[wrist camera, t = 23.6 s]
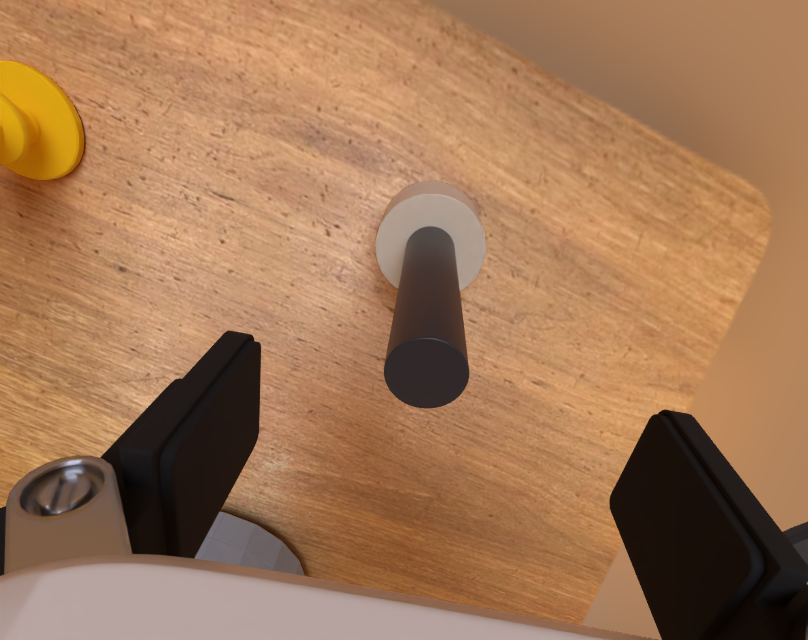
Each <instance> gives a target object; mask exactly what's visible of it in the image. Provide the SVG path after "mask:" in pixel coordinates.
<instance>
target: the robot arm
mask: <svg viewBox="0 0 808 640" xmlns="http://www.w3.org/2000/svg"><path fill="white" fill-rule="evenodd" d="M260 369H261V345H260V343H259V342H255V341H254V337H253V336H252V335H251V334H245V333H240V332H234V331H226V332H225V333H224V334H223V335H222V336H221V337H220V338H219V339H218V341H217V342H216V343H215V344H214V345H213V346H212V347H211V348H210V349H209V350H208V351H207V353H206V354H205V355H204V356H203V357H202V358H201V359H200V360H199V361H198V362H197V363H196V365H195V366H194V367H193V368H192V369H191V370H190V371H189V372H188V373H187V374H186V375H185V376H184V378H183V379H180V378H179V379H175V380H174V381H173V382H172V383H171V384H170V385H169V386H168V387H167V388H166V389H165V390H164V391H163V392H162V393H161V394H160V395H159V396H158V397H157V398H156V399H155V400H154V401H153V403H152V404H151V405H150V406H149V407H148V408H147V409H146V410H145V411H144V412H143V413H142V414H141V415H140V416H139V417H138V418H137V419H136V421H135V422H134V423H133V424H132V425H131V426H130V427H129V428H128V429H127V430H126V431H125V432H124V433H123V434H122V435H121V436H120V437H119V438H118V440H117V441H116V442H115V443H114V444H113V445H112V446H111V447H110V448H109V449H108V450H107V451H106V452H105V453H104V454H103V455H102V456H101V458H98V457H94V456H71V457H65V458H60V459H57V460H55V461H52V462H49V463H46V464H44V465H42V466H40V467H38V468H36V469H34V470H33V471H31V472H29V473H28V474H27V475H26V476H24V477H23V478H22V479H21V480H19V481H18V482H17V484H16V485H15V486H14V488H13V489H12V490H11V491H10V493H9V496H8V500H7V503H6V506H5V507H2V508H0V640H657V639H651V638H646V637H641V636H635V635H630V634H624V633H619V632H614V631H609V630H603V629H598V628H592V627H587V626H582V625H576V624H571V623H566V622H560V621H555V620H549V619H544V618H538V617H533V616H527V615H522V614H516V613H511V612H505V611H500V610H494V609H489V608H483V607H477V606H472V605H466V604H461V603H455V602H450V601H444V600H439V599H433V598H427V597H422V596H416V595H411V594H405V593H399V592H394V591H388V590H382V589H376V588H371V587H365V586H359V585H354V584H348V583H342V582H336V581H331V580H325V579H319V578H314V577H308V576H302V575H296V574H291V573H285V572H279V571H272V570H266V569H259V568H253V567H247V566H240V565H234V564H228V563H221V562H215V561H209V560H202V559H194V558H195V556H196V554H197V553H198V551H199V549H200V547H201V545H202V543H203V541H204V540H205V538H206V536H207V534H208V532H209V530H210V528H211V527H212V525H213V523H214V521H215V519H216V517H217V515H218V514H219V512H220V510H221V508H222V506H223V504H224V502H225V501H226V499H227V497H228V495H229V493H230V491H231V490H232V488H233V486H234V484H235V482H236V480H237V478H238V477H239V475H240V473H241V471H242V469H243V467H244V465H245V464H246V462H247V460H248V458H249V456H250V454H251V452H252V451H253V449H254V447H255V445H256V442H257V439H258V434H259V413H260ZM610 509H611V513H612V515H613V518H614V520H615V523H616V525H617V528H618V530H619V533H620V535H621V538H622V540H623V543H624V545H625V548H626V550H627V553H628V555H629V558H630V560H631V563H632V565H633V567H634V570H635V573H636V575H637V578H638V580H639V583H640V585H641V588H642V590H643V593H644V595H645V598H646V600H647V603H648V605H649V608H650V611H651V613H652V616H653V618H654V621H655V623H656V626H657V628H658V631H659V633H660V636H661V638H662V640H808V565H807V564H806V562H805V561H804V560H803V558H802V557H801V556H800V554H799V553H798V552H797V551H796V549H795V548H794V547H793V545H792V544H791V543H790V541H789V540H788V539H787V538H786V536H785V535H784V534H783V532H782V531H781V530H780V529H779V527H778V526H777V525H776V523H775V522H774V521H773V519H772V518H771V517H770V516H769V514H768V513H767V512H766V511H765V509H764V508H763V506H762V505H761V504H760V503H759V501H758V500H757V499H756V497H755V496H754V495H753V493H752V492H751V491H750V489H749V488H748V487H747V486H746V484H745V483H744V482H743V481H742V479H741V478H740V476H739V475H738V474H737V473H736V471H735V470H734V469H733V467H732V466H731V465H730V463H729V462H728V461H727V460H726V458H725V457H724V456H723V454H722V453H721V452H720V451H719V449H718V448H717V447H716V445H715V444H714V443H713V441H712V440H711V439H710V437H709V436H708V435H707V434H706V432H705V431H704V430H703V428H702V427H701V426H700V425H699V423H698V422H697V421H696V419H695V418H694V417H693V416H692V415H690V414H686V413H681V412H675V411H670V410H662V411H661V412H659V413H658V414H655V415H653V416H651V418H650V419H649V421H648V423H647V425H646V427H645V429H644V431H643V433H642V435H641V437H640V439H639V441H638V443H637V445H636V446H635V448H634V450H633V452H632V454H631V456H630V458H629V460H628V462H627V464H626V466H625V468H624V470H623V472H622V474H621V476H620V478H619V480H618V482H617V484H616V486H615V487H614V489H613V491H612V493H611V496H610Z"/></svg>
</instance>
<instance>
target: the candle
mask: <svg viewBox="0 0 808 640" xmlns="http://www.w3.org/2000/svg"><path fill="white" fill-rule="evenodd" d="M83 151H84V132H83V128H82V123H81V120H80V117H79V115H78V113H77V111H76V109H75V106H74V105H73V103H72V102H71V100H70V99H69V97H68V96H67V95H66V93H65V92H64V90H63V89H62V88H61V87H60V86H59V85H58V84H57V83H55V82H54V81H53V80H52V79H51V78H50V77H49V76H47V75H46V74H44V73H43V72H41V71H40V70H38V69H37V68H35V67H32V66H29V65H27V64H24V63H21V62H14V61H2V60H0V165H4V166H5V167H7V168H9V169H10V170H12V171H14V172H15V173H17V174H19V175H22V176H25V177H28V178H31V179H37V180H50V179H55V178H60V177H63V176H65V175H67V174H68V173H70V172H72V171H73V170H74V169H75V167H76V166H77V165H78V164H79V162H80V160H81V157H82V154H83Z"/></svg>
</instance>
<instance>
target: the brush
mask: <svg viewBox="0 0 808 640" xmlns="http://www.w3.org/2000/svg"><path fill="white" fill-rule="evenodd" d="M375 253H376V258H377V262H378V265H379V268H380V270H381V272H382V273H383V275H384V276H385V278H386V279H387V280H388V281H389V283H390V284H391V285H393V286H394V287H395V288H396V289H398V294H397V299H396V305H395V310H394V316H393V321H392V327H391V332H390V338H389V343H388V349H387V354H386V360H385V365H384V377H385V381H386V384H387V386H388V388H389V389H390V391H391V392H392V393H393V394H394V395H395V396H396V397H397V398H398V399H399V400H401V401H402V402H404V403H406V404H408V405H411V406H414V407H418V408H436V407H441V406H444V405H446V404H448V403H450V402H452V401H454V400H455V399H456V398H458V397H459V396H460V394H461V393H462V392H463V391H464V389H465V387H466V385H467V383H468V379H469V365H468V357H467V348H466V340H465V331H464V323H463V314H462V306H461V297H460V291H462V290H463V289H465V288H466V287H467V286H468V285H469V284H470V283H471V282H472V281H473V280H474V279H475V278H476V276H477V275H478V273H479V271H480V269H481V267H482V265H483V262H484V259H485V254H486V238H485V234H484V230H483V227H482V224H481V221H480V218H479V215H478V212H477V210H476V208H475V206H474V204H473V202H472V201H471V200H470V198H469V197H468V196H467V195H466V194H465V193H464V192H462V191H461V190H460V189H458V188H457V187H455V186H453V185H450V184H448V183H445V182H441V181H423V182H419V183H415V184H413V185H410V186H408V187H406V188H405V189H403V190H402V191H400V192H399V193H398V194H397V195H396V196H395V197H394V198H393V199H392V201H391V202H390V203H389V205H388V207H387V209H386V211H385V213H384V216H383V219H382V221H381V224H380V226H379V229H378V232H377V236H376V242H375Z"/></svg>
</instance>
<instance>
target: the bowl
mask: <svg viewBox="0 0 808 640" xmlns="http://www.w3.org/2000/svg"><path fill="white" fill-rule="evenodd" d="M194 559H202V560H209V561H215V562H221V563H228V564H234V565H240V566H247V567H253V568H259V569H266V570H272V571H279V572H285V573H291V574H296V575H302V576H305V574H304V571H303V569H302V566H301V564H300V562H299V560H298V558H297V557H296V556H295V555H294V554H293V553H292V552H291V551H290V549H289V548H288V547H287V546H286V545H285V544H284V543H283V542H282V541H281V540H280V539H278V538H277V537H275V536H274V535H272V534H270V533H269V532H267V531H266V530H264V529H263V528H261V527H260V526H258V525H256V524H254V523H251V522H249V521H246V520H243V519H241V518H238V517H236V516H233V515H230V514H228V513H224V512H219V514H218V515H217V517H216V519H215V521H214V523H213V525H212V527H211V528H210V530H209V532H208V534H207V536H206V538H205V540H204V541H203V543H202V545H201V547H200V549H199V551H198V553H197V554H196V556H195V558H194Z"/></svg>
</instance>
